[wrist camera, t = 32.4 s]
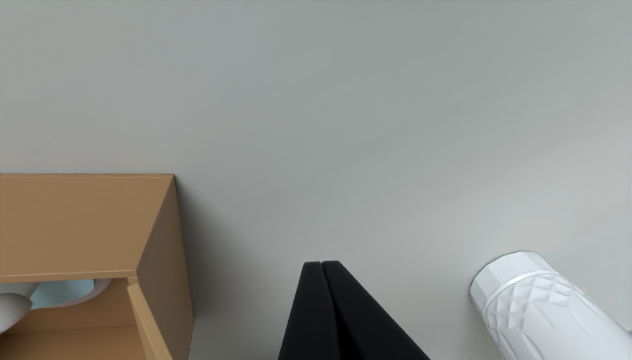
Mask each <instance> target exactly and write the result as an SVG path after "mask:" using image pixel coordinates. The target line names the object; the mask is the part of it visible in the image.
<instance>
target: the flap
mask: <svg viewBox="0 0 632 360" xmlns="http://www.w3.org/2000/svg"><path fill="white" fill-rule="evenodd" d="M127 290H128V294H129V297H130V301H131V304H132V308H133V312H134V315H135V319H136V323H137V326H138V330H139V333H140V337H141V341H142V344H143V348H144V352H145V355H146V359H147V360H173V358H172V356H171V354H170V351H169V349H168V347H167V345H166V343H165V340H164V338H163V336H162V334H161V332H160V329H159V327H158V325H157V323H156V321H155V318H154V316H153V314H152V312H151V310H150V307H149V305H148V303H147V301H146V299H145V296H144V294H143V292H142V290H141V288H140V285H139V284H138V283H136V284H133V285H131V286H128V287H127Z"/></svg>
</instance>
